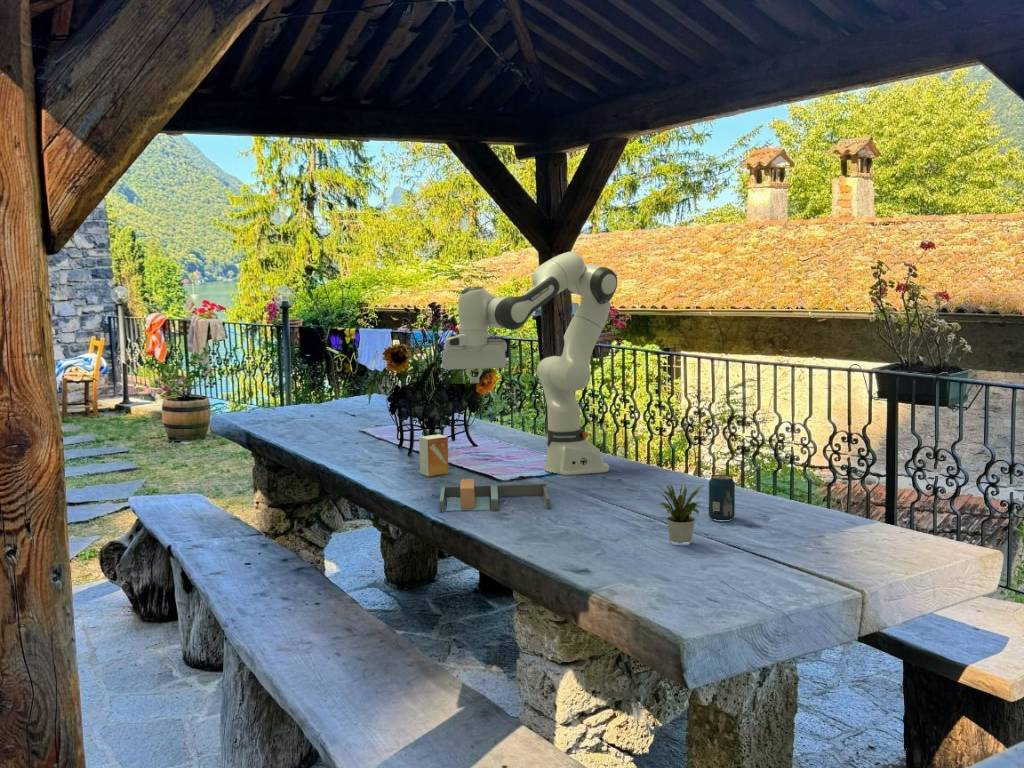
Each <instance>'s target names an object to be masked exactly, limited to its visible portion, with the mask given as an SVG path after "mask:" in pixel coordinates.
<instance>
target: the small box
mask: <svg viewBox="0 0 1024 768" xmlns="http://www.w3.org/2000/svg"><path fill="white" fill-rule="evenodd" d="M448 440H449V439H448V436H446V435H442V434H439V433H437V434H432V435H431V434H429V435H425V436H424V435H423V436H418V445H419V447H418V449H419V473H420V474H421V475H423V476H425V477H433V476H440V475H446V474H447V475H448V474H449V471H450V470H449V441H448Z"/></svg>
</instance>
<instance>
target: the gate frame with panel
mask: <svg viewBox="0 0 1024 768" xmlns="http://www.w3.org/2000/svg"><path fill="white" fill-rule="evenodd" d="M474 491H475V508H469V509H461V498H460V485H452V486H451V485H450V486H449V485H447V486H441V489H440V495H439V512H440V511H443V510H444V511H445V504H446V501H447V500H448V499H449V500H451V501H452V502H451V501H450V502H451V503H452V504H453V503H455V501H458V502H457V503H458V504H457V503H456V504H457V505H459V507H460V508H456V507H454V509H455V508H456V510H458V509H459V510H475V511H476V510H480V511H490V510H491V512H492V511H493V512H494V511H499V498H501V497H502V498H503V497H529V496H542V497H543V500H544V505H545V509H546V510H549V509H550V508H551V500H550V499H551V497H550V495H549V491H548V488H547V484H546V483H518V484H517V483H513V484H512V483H511V484H486V485H485V484H480V485H478V484H477V485H474ZM445 497H447V498H445ZM450 497H456V498H450ZM452 499H453V500H452ZM444 503H445V504H444ZM448 503H449V502H448ZM451 503H450V504H451ZM450 506H452V505H450ZM452 507H453V506H452ZM444 511H443V512H444ZM475 511H474V512H475Z"/></svg>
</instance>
